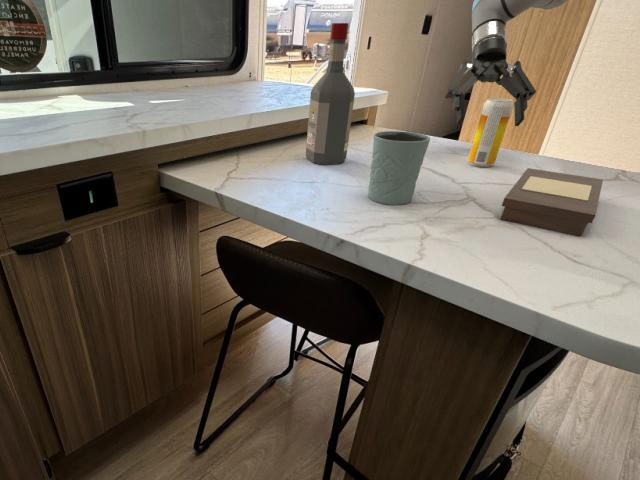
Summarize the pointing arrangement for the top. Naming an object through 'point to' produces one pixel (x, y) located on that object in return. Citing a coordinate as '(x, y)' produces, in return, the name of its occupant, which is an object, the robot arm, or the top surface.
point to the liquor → (331, 106)
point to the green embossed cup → (396, 166)
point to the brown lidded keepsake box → (553, 201)
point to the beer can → (490, 131)
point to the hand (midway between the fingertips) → (489, 122)
